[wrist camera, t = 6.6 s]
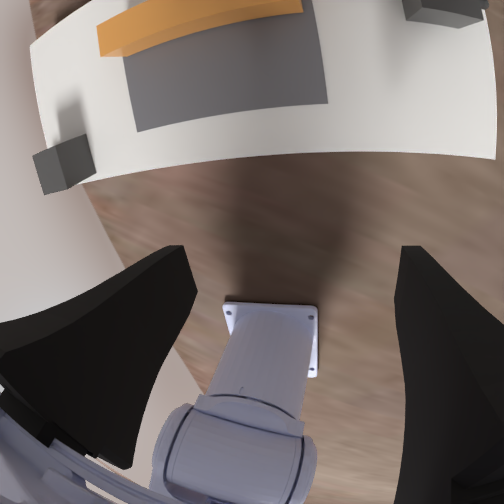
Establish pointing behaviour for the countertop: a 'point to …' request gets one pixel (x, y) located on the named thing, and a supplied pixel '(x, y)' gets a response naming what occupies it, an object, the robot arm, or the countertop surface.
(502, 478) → the robot arm
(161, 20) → the switch
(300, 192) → the countertop surface
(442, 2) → the plug
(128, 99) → the board
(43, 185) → the plug
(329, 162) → the countertop surface
